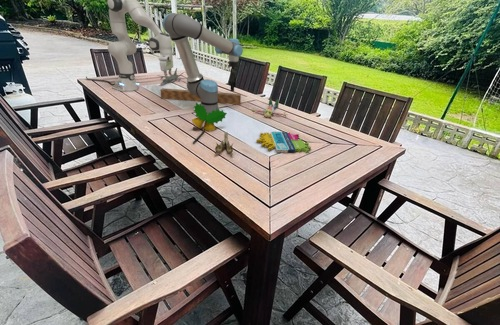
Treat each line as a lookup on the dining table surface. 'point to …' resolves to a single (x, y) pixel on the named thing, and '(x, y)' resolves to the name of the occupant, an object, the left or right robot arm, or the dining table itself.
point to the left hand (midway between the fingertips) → (168, 75)
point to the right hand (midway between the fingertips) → (233, 89)
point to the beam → (187, 96)
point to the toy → (270, 109)
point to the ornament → (207, 117)
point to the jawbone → (224, 145)
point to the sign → (283, 142)
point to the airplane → (171, 78)
